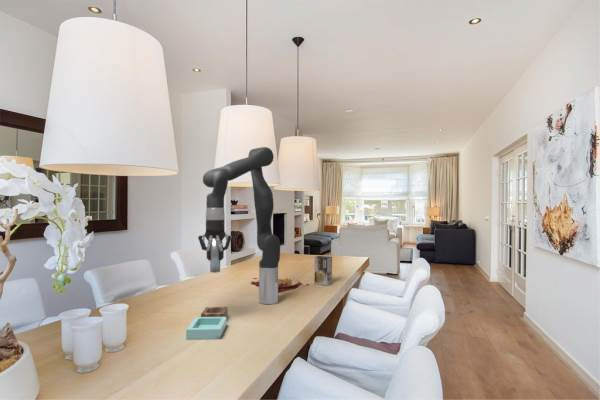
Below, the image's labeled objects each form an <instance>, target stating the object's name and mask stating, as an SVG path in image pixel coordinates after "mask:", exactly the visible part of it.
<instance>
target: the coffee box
mask: <svg viewBox="0 0 600 400" xmlns="http://www.w3.org/2000/svg"><path fill="white" fill-rule="evenodd" d="M313 258H314V259H313V260H314V264H313V265H314V285H323V286H327V287H328V286H330V285H332V284H333V257H332V256H327V255H317V256H314V257H313Z"/></svg>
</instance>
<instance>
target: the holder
mask: <svg viewBox="0 0 600 400" xmlns="http://www.w3.org/2000/svg"><path fill="white" fill-rule="evenodd" d="M200 317H227V318H228V306H206V307H205V308H204V309H203V311H202V312H201V313H200Z"/></svg>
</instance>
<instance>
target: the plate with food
mask: <svg viewBox="0 0 600 400" xmlns="http://www.w3.org/2000/svg"><path fill="white" fill-rule="evenodd" d="M252 280H259V277H256V278H255V277H253V278H252ZM250 284H252V285H255V286H257V287H259V281H251V282H250ZM309 285H310V283H306V284H305V285H304V284H303V283H301V281H299V280H297V279H296V278H295V279H294V278H288V277H278V292H282V291H288V290H293V289H294V290H296V289H298V288H299V287H300V286H301V288H304V287H306V286H309Z"/></svg>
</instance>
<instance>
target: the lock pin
mask: <svg viewBox="0 0 600 400" xmlns="http://www.w3.org/2000/svg"><path fill="white" fill-rule="evenodd" d="M219 252H220V249H219V246H218V242H217V239H216V238H212V241H211V246H210V261H209V265H210V267H209V269H210V270H209V272H210V273H213V274H216V273H220V272H221V260H219Z"/></svg>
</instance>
